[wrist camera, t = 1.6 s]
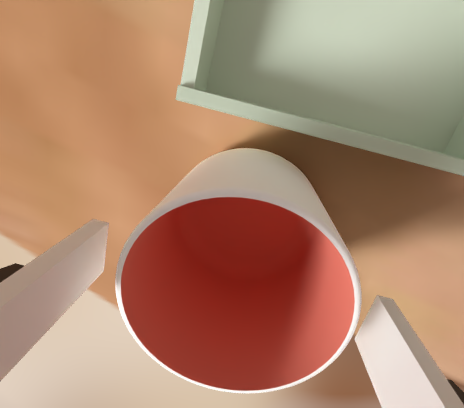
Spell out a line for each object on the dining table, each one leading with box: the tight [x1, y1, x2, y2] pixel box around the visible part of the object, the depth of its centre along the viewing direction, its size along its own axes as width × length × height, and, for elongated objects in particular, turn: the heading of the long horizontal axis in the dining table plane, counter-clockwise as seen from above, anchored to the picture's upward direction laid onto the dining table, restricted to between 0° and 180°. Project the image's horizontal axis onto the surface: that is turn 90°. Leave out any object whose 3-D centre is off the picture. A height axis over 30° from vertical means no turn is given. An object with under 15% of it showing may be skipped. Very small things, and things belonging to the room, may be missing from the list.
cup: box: [115, 148, 361, 393], centre depth 16 cm, size 10×10×10 cm
